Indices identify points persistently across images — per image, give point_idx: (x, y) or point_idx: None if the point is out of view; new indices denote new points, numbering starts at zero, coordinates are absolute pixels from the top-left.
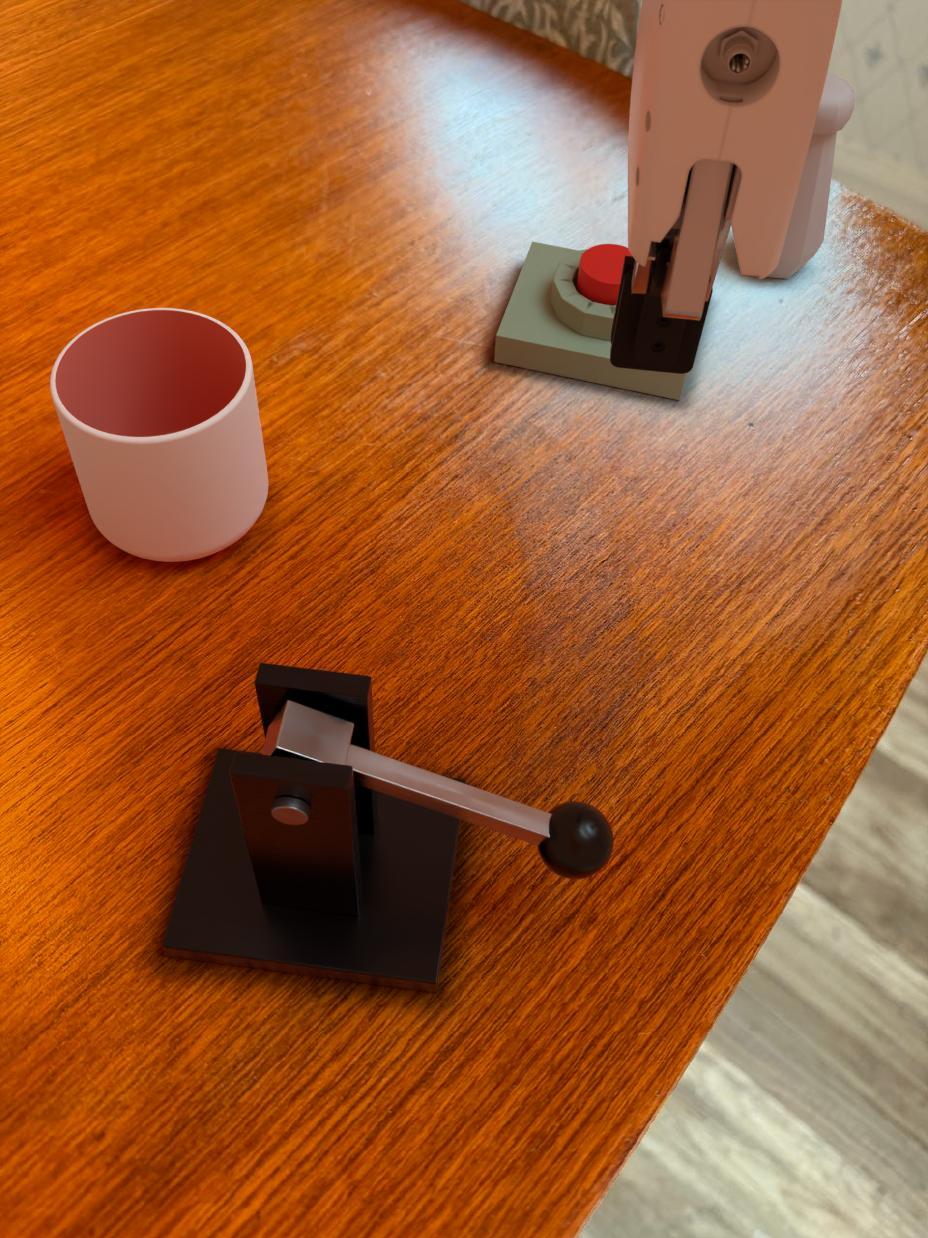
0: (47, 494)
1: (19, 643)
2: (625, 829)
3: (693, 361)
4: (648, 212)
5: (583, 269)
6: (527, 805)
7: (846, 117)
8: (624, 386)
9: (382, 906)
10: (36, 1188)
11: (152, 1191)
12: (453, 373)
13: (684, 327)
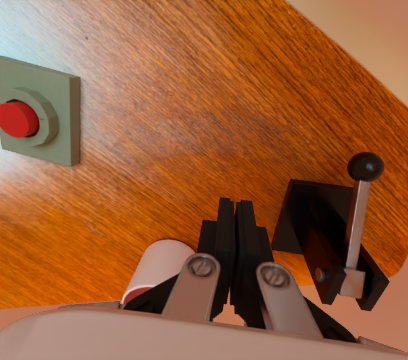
0: None
1: None
2: (314, 123)
3: (252, 205)
4: None
5: (22, 136)
6: (358, 191)
7: None
8: (79, 105)
9: (337, 207)
10: (389, 274)
11: (399, 253)
12: (91, 177)
13: (270, 250)
